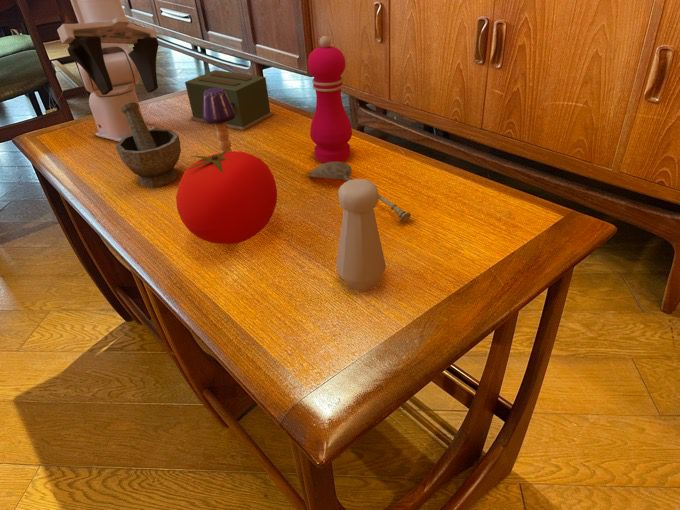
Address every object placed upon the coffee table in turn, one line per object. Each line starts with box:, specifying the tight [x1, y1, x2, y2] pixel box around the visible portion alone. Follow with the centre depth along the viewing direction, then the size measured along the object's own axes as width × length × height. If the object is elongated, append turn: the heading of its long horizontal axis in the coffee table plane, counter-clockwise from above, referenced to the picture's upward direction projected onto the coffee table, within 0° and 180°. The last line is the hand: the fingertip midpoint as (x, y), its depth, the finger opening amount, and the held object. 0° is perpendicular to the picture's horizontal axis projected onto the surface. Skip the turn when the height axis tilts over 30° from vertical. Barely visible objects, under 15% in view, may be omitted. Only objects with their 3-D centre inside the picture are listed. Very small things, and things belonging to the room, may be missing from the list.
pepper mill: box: [307, 35, 353, 164], centre depth 83 cm, size 7×7×20 cm
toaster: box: [184, 69, 273, 131], centre depth 105 cm, size 14×11×8 cm
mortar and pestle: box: [115, 102, 182, 188], centre depth 83 cm, size 11×9×12 cm
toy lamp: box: [203, 88, 236, 153], centre depth 74 cm, size 5×5×17 cm
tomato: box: [175, 149, 278, 245], centre depth 67 cm, size 12×14×11 cm
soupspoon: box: [308, 161, 412, 224], centre depth 77 cm, size 22×3×7 cm
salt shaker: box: [335, 178, 387, 293], centre depth 57 cm, size 6×6×13 cm
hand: (131, 91), depth 75 cm, fingers open, 7 cm apart
